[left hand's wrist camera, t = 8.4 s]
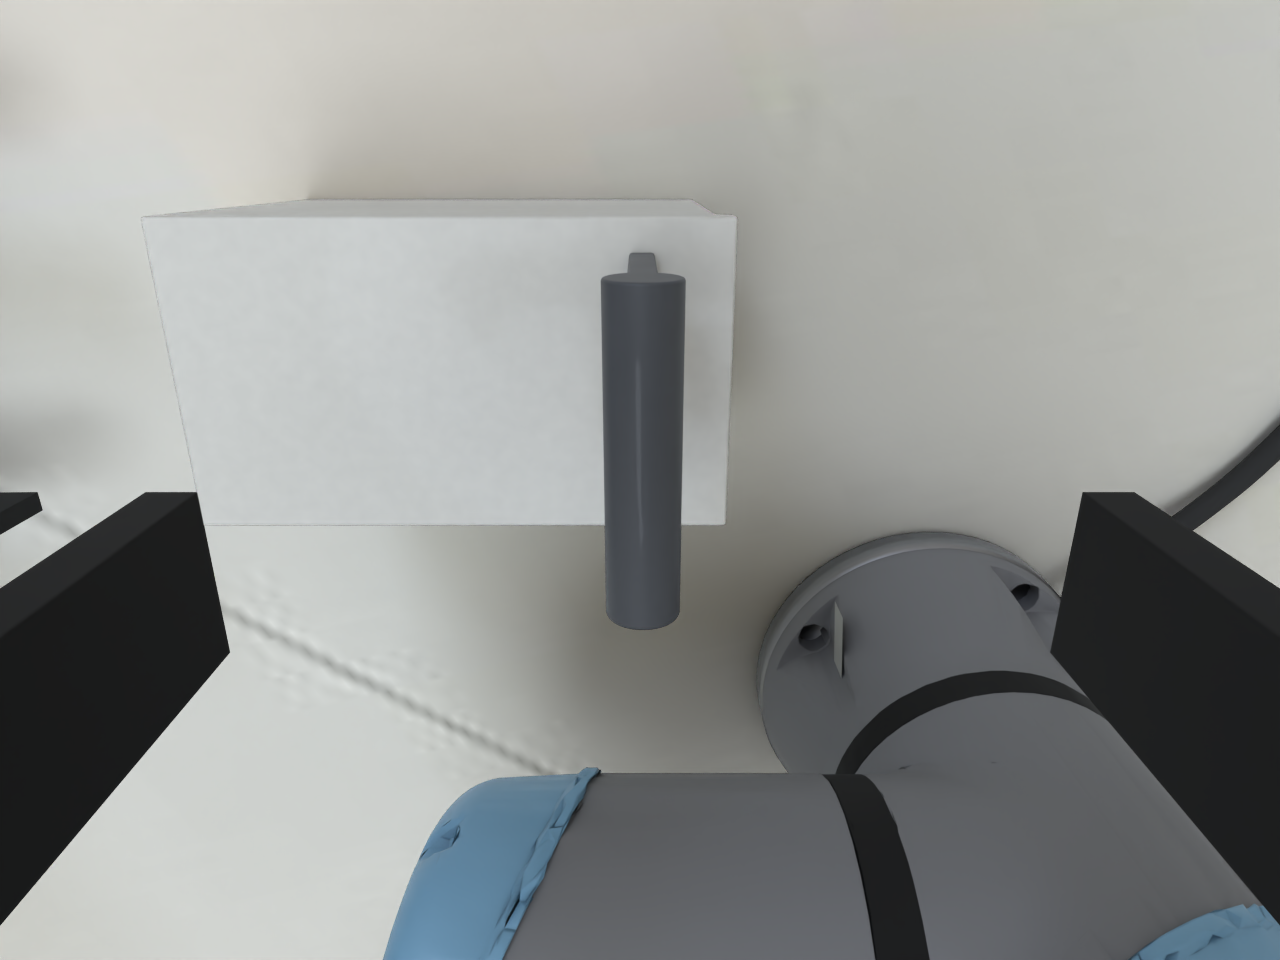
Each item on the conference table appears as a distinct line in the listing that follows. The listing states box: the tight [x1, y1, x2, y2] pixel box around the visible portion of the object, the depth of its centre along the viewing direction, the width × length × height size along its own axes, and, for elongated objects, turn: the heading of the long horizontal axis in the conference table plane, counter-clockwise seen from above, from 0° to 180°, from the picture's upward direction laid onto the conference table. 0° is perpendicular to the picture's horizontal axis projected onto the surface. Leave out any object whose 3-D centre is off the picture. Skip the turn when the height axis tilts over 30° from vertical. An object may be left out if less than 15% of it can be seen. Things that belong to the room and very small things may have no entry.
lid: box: [141, 215, 738, 630], centre depth 21 cm, size 16×9×8 cm, turn 90°
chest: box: [164, 199, 716, 215], centre depth 30 cm, size 16×9×11 cm, turn 90°
